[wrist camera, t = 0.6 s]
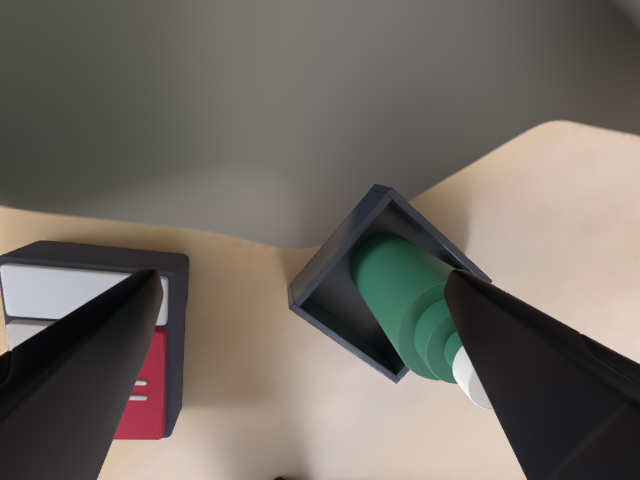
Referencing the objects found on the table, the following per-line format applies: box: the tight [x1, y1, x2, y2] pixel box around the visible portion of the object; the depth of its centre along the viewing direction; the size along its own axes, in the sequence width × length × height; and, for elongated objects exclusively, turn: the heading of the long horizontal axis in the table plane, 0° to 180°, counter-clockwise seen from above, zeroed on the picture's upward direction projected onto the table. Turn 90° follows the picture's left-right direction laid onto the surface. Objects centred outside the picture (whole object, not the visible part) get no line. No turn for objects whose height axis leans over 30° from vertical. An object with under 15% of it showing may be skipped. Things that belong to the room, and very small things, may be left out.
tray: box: [287, 184, 492, 384], centre depth 26 cm, size 12×12×4 cm
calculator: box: [0, 240, 189, 440], centre depth 24 cm, size 11×4×15 cm
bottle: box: [350, 233, 493, 409], centre depth 20 cm, size 6×6×15 cm
